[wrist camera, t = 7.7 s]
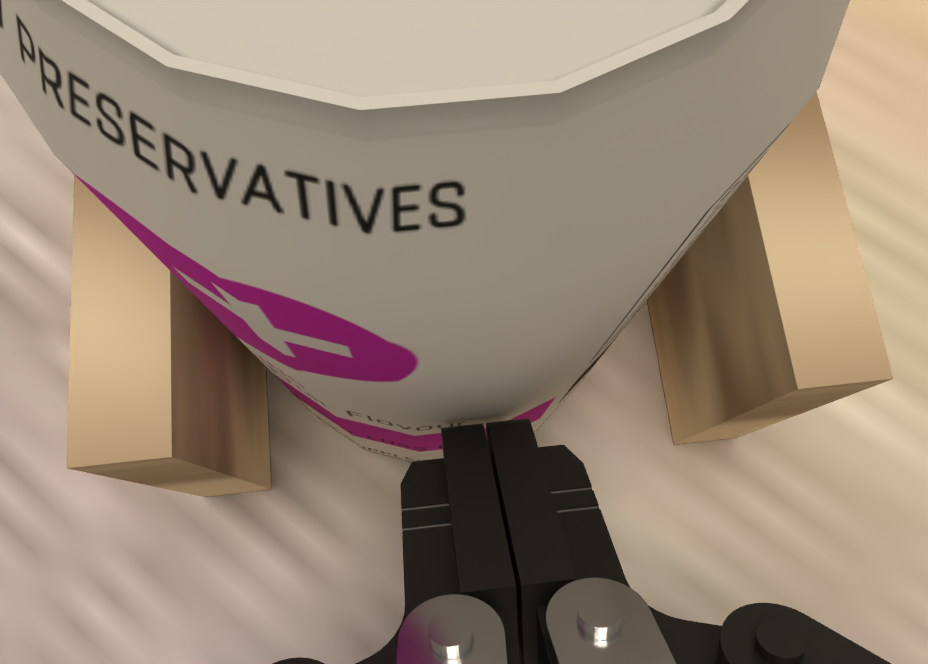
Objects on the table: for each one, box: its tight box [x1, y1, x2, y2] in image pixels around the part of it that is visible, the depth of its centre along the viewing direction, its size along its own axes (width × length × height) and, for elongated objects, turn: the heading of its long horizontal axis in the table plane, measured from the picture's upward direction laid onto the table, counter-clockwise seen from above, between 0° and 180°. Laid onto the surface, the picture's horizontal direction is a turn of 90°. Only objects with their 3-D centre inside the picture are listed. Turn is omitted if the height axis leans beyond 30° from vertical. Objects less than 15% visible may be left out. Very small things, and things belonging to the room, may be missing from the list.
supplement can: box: [0, 0, 850, 461], centre depth 13 cm, size 8×8×15 cm
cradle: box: [67, 92, 893, 497], centre depth 17 cm, size 12×13×7 cm
